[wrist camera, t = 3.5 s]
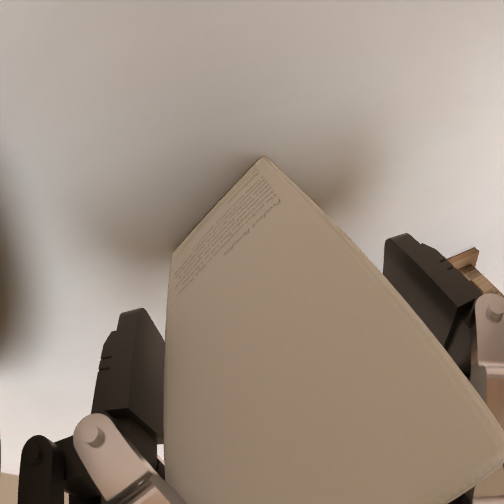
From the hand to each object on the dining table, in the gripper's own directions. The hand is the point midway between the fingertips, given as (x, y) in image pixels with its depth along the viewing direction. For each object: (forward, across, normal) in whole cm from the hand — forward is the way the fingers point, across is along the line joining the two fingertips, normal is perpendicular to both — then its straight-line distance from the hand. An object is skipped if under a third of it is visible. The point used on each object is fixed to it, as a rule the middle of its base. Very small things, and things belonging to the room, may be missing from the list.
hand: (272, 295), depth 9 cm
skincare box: (+5, 0, 0) cm, 5 cm away
